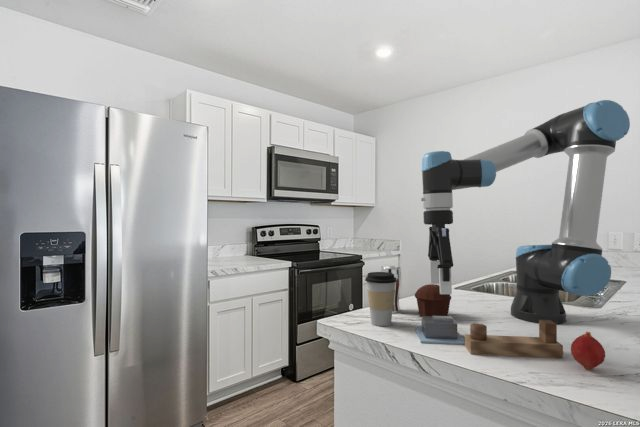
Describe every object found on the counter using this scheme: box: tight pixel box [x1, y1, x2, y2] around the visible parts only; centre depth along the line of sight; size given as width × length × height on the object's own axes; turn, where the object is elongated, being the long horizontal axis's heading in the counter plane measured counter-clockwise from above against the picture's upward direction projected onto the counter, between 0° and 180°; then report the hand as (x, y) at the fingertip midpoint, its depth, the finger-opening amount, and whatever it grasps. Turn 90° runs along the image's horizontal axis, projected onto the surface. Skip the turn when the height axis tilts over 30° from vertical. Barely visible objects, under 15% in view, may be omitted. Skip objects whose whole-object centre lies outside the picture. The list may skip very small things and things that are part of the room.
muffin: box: [414, 283, 452, 318], centre depth 114 cm, size 12×11×10 cm
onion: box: [570, 331, 606, 371], centre depth 74 cm, size 6×6×8 cm
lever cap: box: [421, 315, 458, 340], centre depth 95 cm, size 8×6×5 cm
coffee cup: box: [364, 271, 396, 327], centre depth 107 cm, size 9×9×15 cm
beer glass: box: [380, 265, 402, 314], centre depth 121 cm, size 7×7×15 cm
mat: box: [414, 327, 465, 346], centre depth 95 cm, size 11×11×1 cm
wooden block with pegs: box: [464, 320, 564, 359], centre depth 84 cm, size 20×5×8 cm, turn 82°
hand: (440, 288), depth 95 cm, fingers open, 13 cm apart
